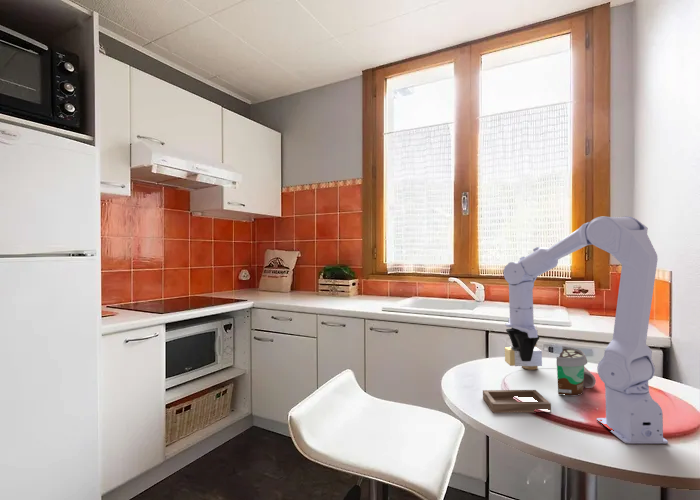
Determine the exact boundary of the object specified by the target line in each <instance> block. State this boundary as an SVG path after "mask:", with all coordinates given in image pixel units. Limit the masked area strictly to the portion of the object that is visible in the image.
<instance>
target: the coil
mask: <svg viewBox="0 0 700 500" xmlns="http://www.w3.org/2000/svg"><path fill="white" fill-rule="evenodd" d="M596 381H597V380H596V377H595V375H594V374H593V373H592V372H591V371H590V370H588V369H587V367H585V366H584V380H583V388H584V389H585V388H591V389H592V388H594V387H595V385H596V383H597V382H596Z"/></svg>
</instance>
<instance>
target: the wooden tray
mask: <svg viewBox="0 0 700 500" xmlns="http://www.w3.org/2000/svg"><path fill="white" fill-rule="evenodd" d="M514 396H518V397H533V398H534V399H535V400H537V401H538V402H517V401H516V400H515V399H513V397H514ZM482 399H483V401H484V402H485V403H486V405H487V407H489V409H490V411H492V413H497V414H498V413H506V414H507V413H510V414H511V413H514V414H515V413H517V414H518V413H535V412H534V410H535V409H548V410H551V411H552V403H551V402H550V401H548V400H547V398H545V397H544V396H543V395H542V394H540V392H539V391H537V390H536V389H489V390H487V389H483V390H482Z"/></svg>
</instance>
